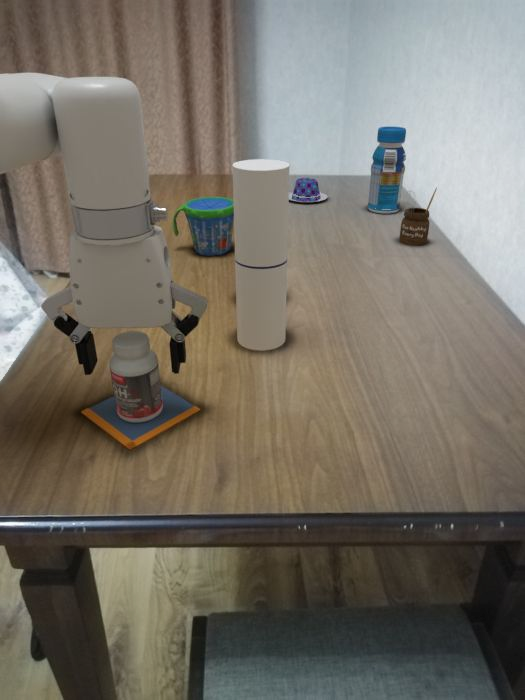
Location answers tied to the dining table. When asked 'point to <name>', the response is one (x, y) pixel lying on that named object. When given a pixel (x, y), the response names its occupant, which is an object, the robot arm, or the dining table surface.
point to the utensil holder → (415, 225)
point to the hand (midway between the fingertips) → (134, 367)
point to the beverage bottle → (387, 170)
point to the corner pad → (142, 431)
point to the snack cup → (209, 224)
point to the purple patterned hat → (306, 191)
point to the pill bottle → (135, 377)
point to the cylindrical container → (261, 251)
